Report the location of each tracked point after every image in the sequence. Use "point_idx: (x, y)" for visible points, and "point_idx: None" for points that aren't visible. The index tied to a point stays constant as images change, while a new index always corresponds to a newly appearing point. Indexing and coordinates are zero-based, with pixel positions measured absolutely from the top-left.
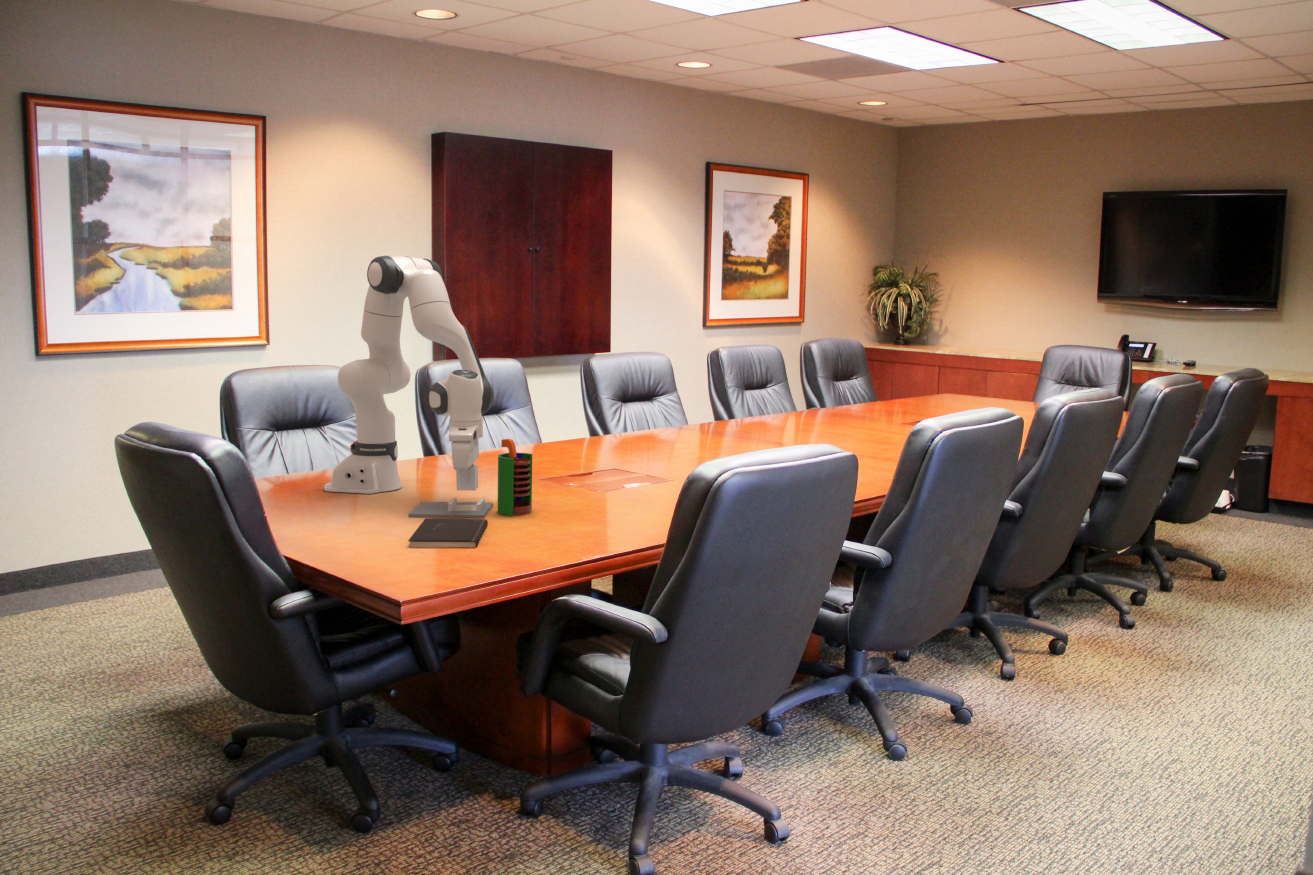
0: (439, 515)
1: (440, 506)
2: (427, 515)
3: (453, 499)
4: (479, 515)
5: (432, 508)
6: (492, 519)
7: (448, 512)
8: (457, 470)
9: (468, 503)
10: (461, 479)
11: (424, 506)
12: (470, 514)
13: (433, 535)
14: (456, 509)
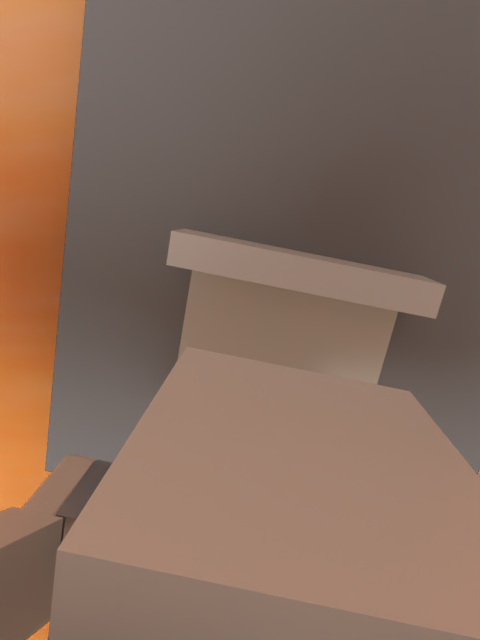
0: (75, 160)
1: (386, 163)
2: (85, 55)
3: (373, 285)
4: (47, 443)
5: (312, 90)
6: (21, 503)
7: (140, 232)
8: (79, 535)
9: (457, 393)
10: (42, 485)
11: (414, 4)
12: (68, 389)
13: None
14: (217, 297)
